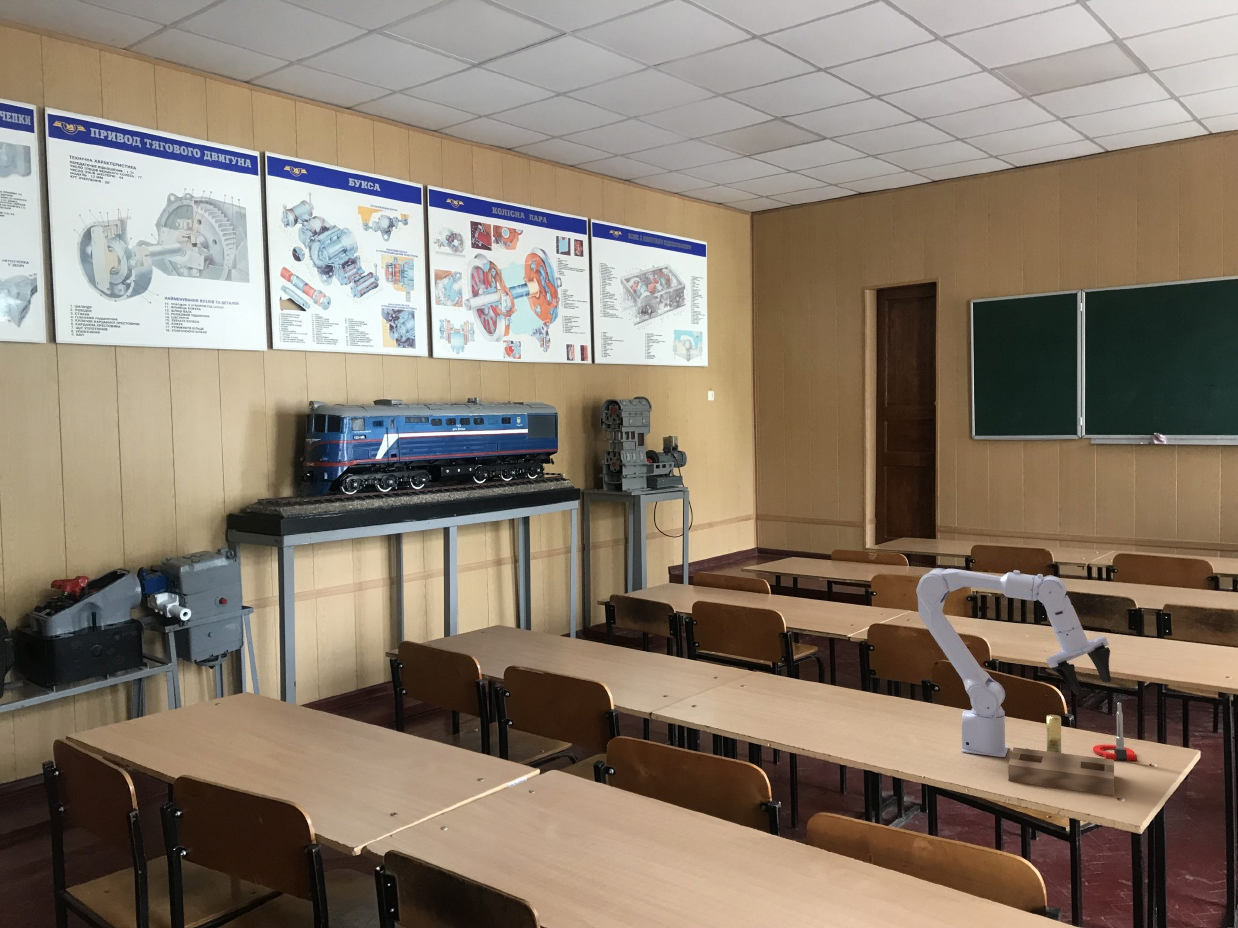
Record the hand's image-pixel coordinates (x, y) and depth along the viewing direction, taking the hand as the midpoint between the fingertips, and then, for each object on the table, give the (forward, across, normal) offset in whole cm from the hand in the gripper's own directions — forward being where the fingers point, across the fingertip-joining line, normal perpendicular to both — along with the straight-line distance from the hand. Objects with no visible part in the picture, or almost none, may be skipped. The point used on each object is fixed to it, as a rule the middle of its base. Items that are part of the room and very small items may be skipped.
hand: (1092, 687), depth 207 cm
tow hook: (+18, +4, +10) cm, 21 cm away
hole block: (+14, -16, -1) cm, 21 cm away
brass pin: (+13, -11, +9) cm, 19 cm away
